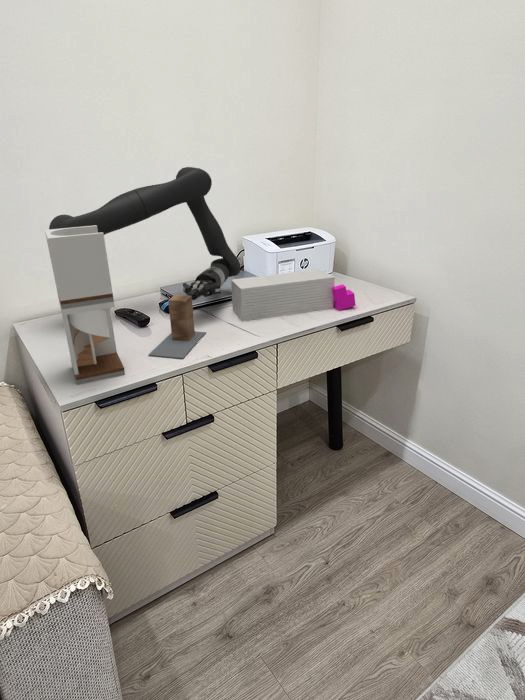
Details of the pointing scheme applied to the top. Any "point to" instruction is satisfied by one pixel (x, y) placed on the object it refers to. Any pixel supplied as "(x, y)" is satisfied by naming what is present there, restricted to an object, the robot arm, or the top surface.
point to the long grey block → (282, 294)
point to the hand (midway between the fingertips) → (191, 297)
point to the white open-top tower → (85, 301)
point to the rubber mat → (176, 347)
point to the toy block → (342, 297)
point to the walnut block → (181, 317)
